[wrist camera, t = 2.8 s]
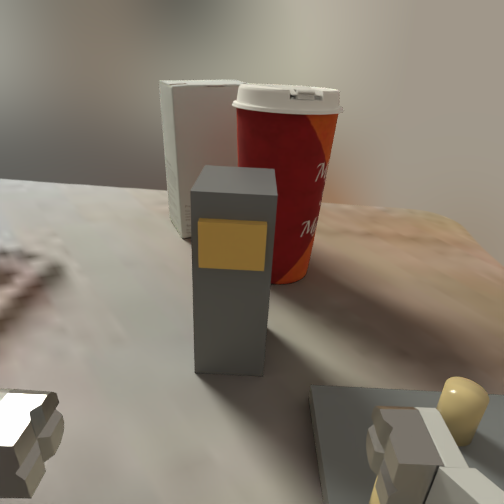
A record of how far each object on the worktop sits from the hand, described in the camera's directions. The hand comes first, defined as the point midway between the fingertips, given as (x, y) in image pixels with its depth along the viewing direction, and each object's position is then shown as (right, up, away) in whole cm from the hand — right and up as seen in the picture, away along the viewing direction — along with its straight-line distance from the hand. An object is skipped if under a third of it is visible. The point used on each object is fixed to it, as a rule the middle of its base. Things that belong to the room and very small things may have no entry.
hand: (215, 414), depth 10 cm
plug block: (0, -2, +15) cm, 15 cm away
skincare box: (-4, +7, +33) cm, 34 cm away
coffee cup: (+3, +3, +25) cm, 25 cm away
